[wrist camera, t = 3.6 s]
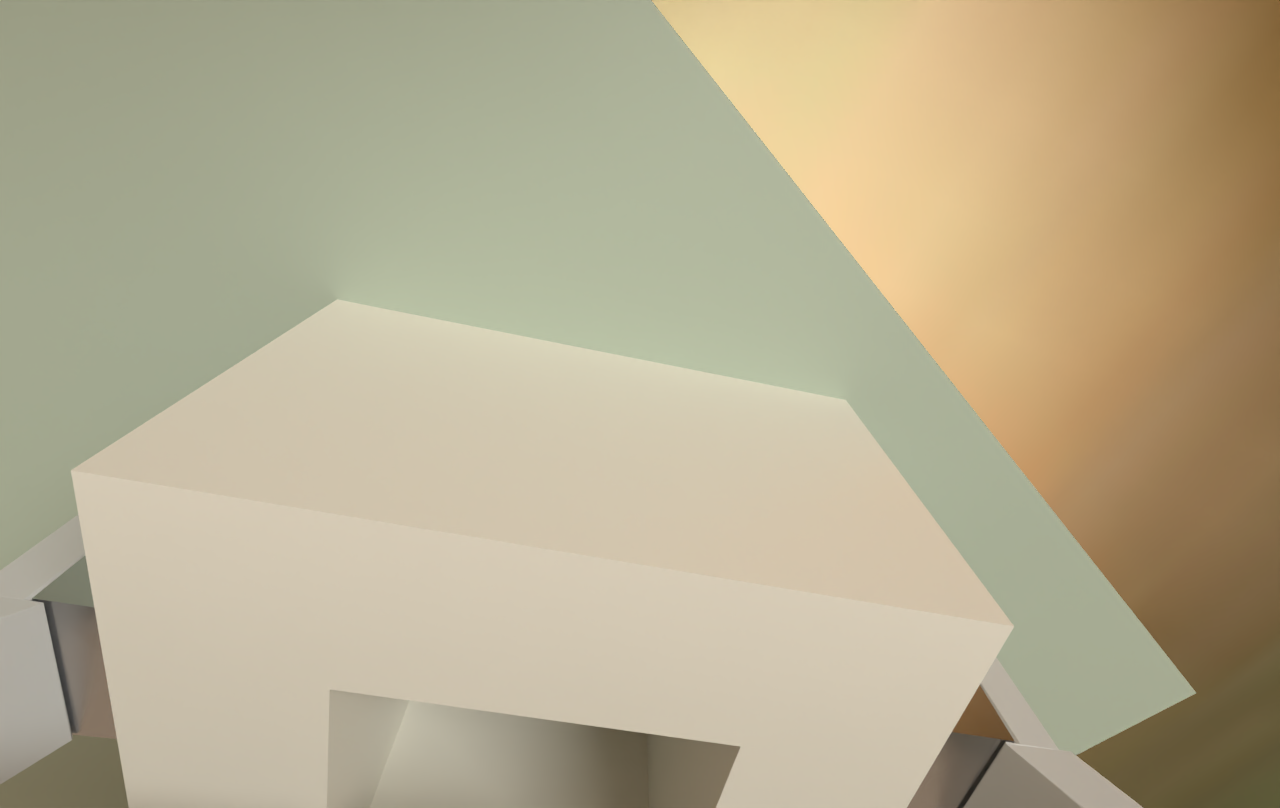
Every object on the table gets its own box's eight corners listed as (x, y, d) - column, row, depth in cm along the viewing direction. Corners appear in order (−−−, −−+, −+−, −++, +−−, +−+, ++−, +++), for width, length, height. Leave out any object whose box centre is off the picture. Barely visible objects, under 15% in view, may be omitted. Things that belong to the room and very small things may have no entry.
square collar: (845, 400, 8) (1014, 627, 5) (716, 738, 11) (761, 1054, 7) (337, 299, 8) (70, 471, 4) (328, 683, 10) (162, 1000, 7)
